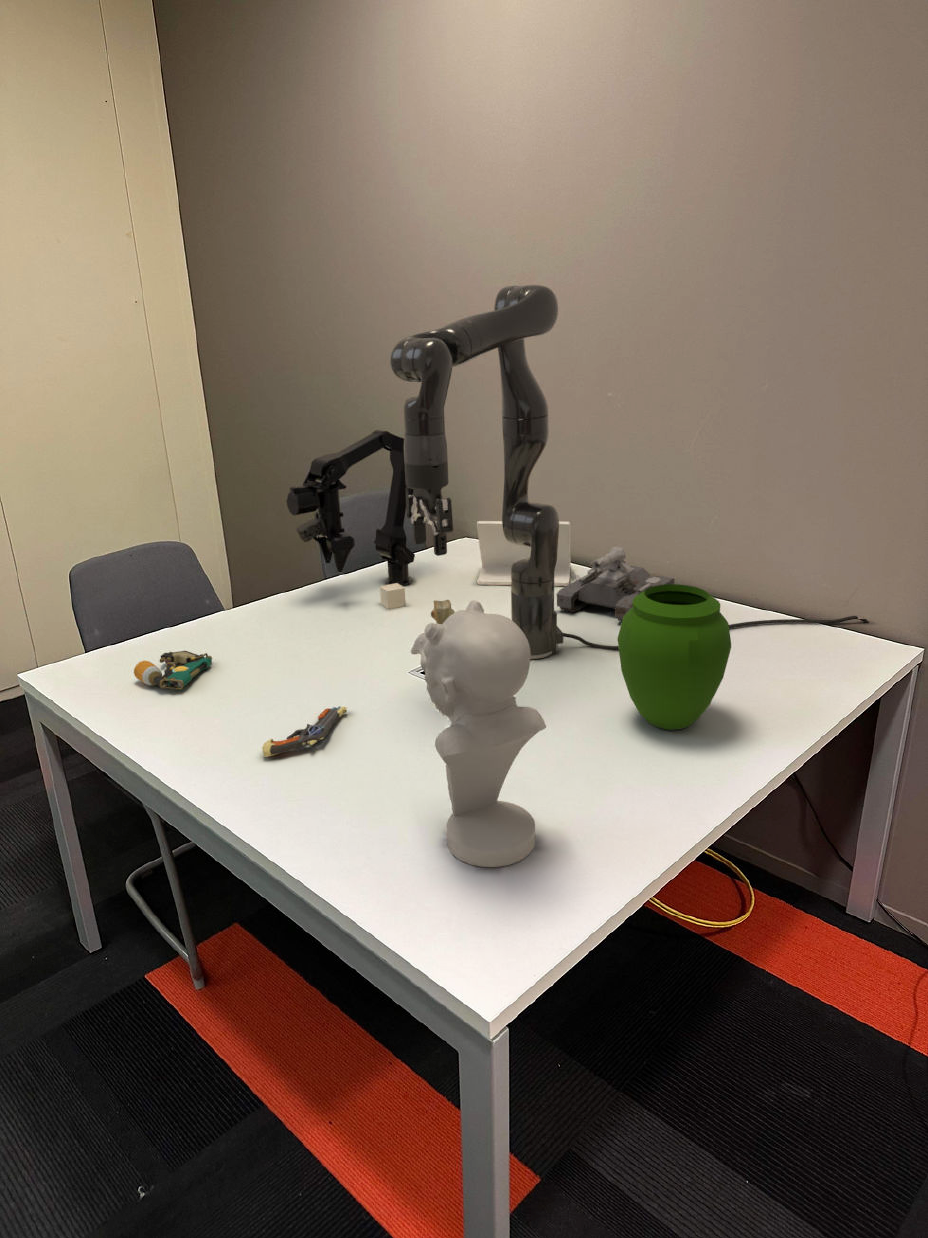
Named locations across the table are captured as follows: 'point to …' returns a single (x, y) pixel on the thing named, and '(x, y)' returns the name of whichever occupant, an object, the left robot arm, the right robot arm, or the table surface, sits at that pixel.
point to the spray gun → (172, 669)
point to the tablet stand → (516, 554)
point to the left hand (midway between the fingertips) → (333, 567)
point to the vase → (673, 653)
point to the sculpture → (441, 611)
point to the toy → (609, 585)
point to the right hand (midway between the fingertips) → (430, 548)
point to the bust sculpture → (481, 729)
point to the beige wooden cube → (392, 596)
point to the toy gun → (305, 733)
